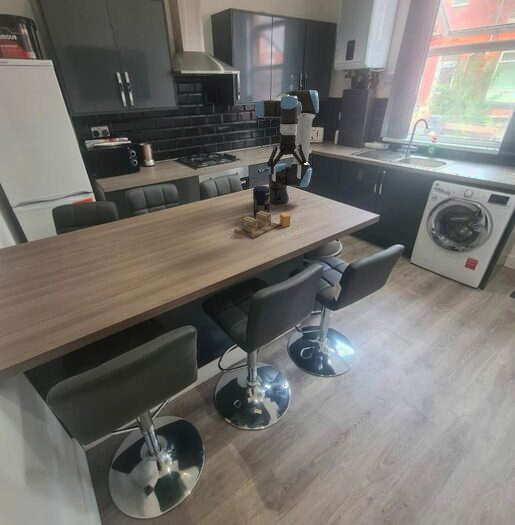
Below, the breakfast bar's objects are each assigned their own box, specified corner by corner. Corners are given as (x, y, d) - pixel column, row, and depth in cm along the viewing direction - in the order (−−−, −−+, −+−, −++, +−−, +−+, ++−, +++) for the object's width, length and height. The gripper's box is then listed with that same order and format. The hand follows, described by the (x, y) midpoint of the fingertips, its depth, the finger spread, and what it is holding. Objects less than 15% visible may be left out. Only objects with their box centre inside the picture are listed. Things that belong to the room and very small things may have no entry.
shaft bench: (259, 219, 166) (259, 207, 163) (278, 226, 158) (279, 213, 155) (234, 231, 154) (233, 218, 150) (253, 238, 146) (253, 225, 142)
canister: (260, 211, 177) (260, 182, 168) (273, 215, 172) (273, 185, 163) (250, 216, 171) (249, 186, 162) (262, 220, 166) (262, 189, 156)
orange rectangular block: (279, 223, 162) (280, 213, 159) (286, 222, 163) (286, 212, 160) (283, 227, 158) (283, 216, 155) (290, 225, 159) (290, 215, 156)
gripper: (265, 136, 130) (265, 183, 141) (315, 133, 136) (312, 178, 147) (260, 134, 136) (260, 179, 147) (308, 131, 143) (305, 175, 153)
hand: (286, 179), depth 147 cm, fingers open, 13 cm apart
